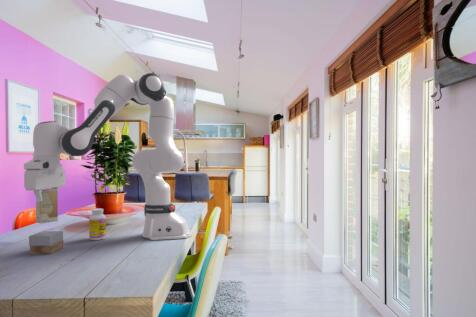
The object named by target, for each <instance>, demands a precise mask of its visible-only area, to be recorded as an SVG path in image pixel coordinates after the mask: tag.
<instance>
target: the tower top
mask: <svg viewBox="0 0 476 317" xmlns="http://www.w3.org/2000/svg"><path fill="white" fill-rule="evenodd" d="M62 240H63V241H64V231H63V230H42V231H40V232H37V233H33V234H31V235H29V236H28V246H29V247H30V246H51V245H53V244H55V243H57V242H60V241H62Z"/></svg>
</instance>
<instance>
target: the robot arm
mask: <svg viewBox="0 0 476 317" xmlns="http://www.w3.org/2000/svg"><path fill="white" fill-rule="evenodd" d="M166 94H167V90H166V88H165V85H164V81H163V79H162V77H160V75H159V74H156V73H154V72H153V73H151V72H149V73H145V74H143V75H142V76H141V77H140V78H138V79H137V80H134V79H132V77H131V76H129V75H127V74H118V75H116V76H115V77H113V78H112V79H111V80H110V81H108V83H107V84H105V85H104V87H102V88H101V89H100V91H99V92H98V93H97V95H96V96H95V98H94V100H93V101H94V102H93V105H94V109H93V110H92V112H91V113H90V114H89V115H88V116H87V117H86V118H85V120H83V122H82V123H81V124H80V125H78V127H76V128H73V129H69V128H67V127H65V126H63V125H62V124H60V123H59V122H57V121H56V120H55V121H53V120H51V121H48V120H47V121H42V122H39V123H37V124H36V125H35V126H34V128H33V133H32V146H33V150H34V151H33V154H32V159H30V160H28V161H27V162H26V161H25V163H23V169H24V170H25V171H24V173H23V183H24V184H23V185H24V188H25V191H28V192H29V191H33V194H34V196H35V200H36V201H35V203H36V202H43V197H42V195H41V192H42V190H46V189H56V190H58V192H59V191H60V187H65V186H66V182H67V181H66V172H65V168H64V167H63V165H62V164H61V154H65V155H68V156H73V157H81V156H85V155H87V154H88V153H89V152H90V151H91V149H92V147H93V143H94V141H95V138H96V135H97V134H98V133H99V132H100V131H101V129H102V128H103V127H104V126H105V124H106V123H107V122H108V121H109V120H110V119H111V118H113V117H114V116H115V115H117V114H118V113H119V112H120V111H121V110H122V109H123V108H124V107H125V106H126V105H127V104H128V103H129V102H130V101H132V102H134V103H135V104H137V105H139V106H147V105H148V106H149V121H148V122H149V123H148V131H147V134H148V137H149V138H150V139H151V140H152V141H154V145H155V148H148V149H142V150H139V151H137V152H135V153H134V155H133V156H132V161H131V162H132V166H133V168H134V169H135V170H136V172H138V173H139V175H140V177H141V178H142V182H143V185H144V196H145V198H144V199H145V204H144V208H143V210H144V211H143V214H144V227H143V229H142V230H143V231H142V234H141V236H142V238H145V239H148V240H151V241H158V240H159V241H161V240H178V239H188V238H190V237H191V236H192V235H193V234H194V231H193V230H192V229H190V228H189V225H188V222H187V219H186V218H185V217H183V216H182V215H181V214H179V213H178V212H176V204H173V203H172V201H171V200H172V199H171V198H172V197H171V196H172V195H171V186H170V184H169V183H168V182H166V181H165V180H164V178H163V174H173V173H177V172H180V171H181V170H182V169H183V167H184V164H185V158H184V155H183V153H182V152H181V151H180V150H179V149H178V147H177V146H176V144H175V143H176V142H175V140H174V124H175V105H174V101H173V99H172V98H170V97H169V96H167V95H166Z"/></svg>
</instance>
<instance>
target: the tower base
mask: <svg viewBox="0 0 476 317" xmlns="http://www.w3.org/2000/svg"><path fill="white" fill-rule="evenodd" d="M62 249H64V239H63V240H62V241H60V242H57V243H55V244H53V245H51V246H29V255H52V254H55V253H57V252H59V251H61V250H62Z"/></svg>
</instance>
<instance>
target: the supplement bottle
mask: <svg viewBox="0 0 476 317" xmlns="http://www.w3.org/2000/svg"><path fill="white" fill-rule="evenodd" d="M88 221H89V223H88V224H89V225H88V227H89V228H88V230H89V233H88V236H89V238H88V239H89V240H91V241H101V240H103V239H106V238H107V235H106V234H107V233H106V232H107V229H106V228H107V217H106V215H105V214H104V208H92V209H91V215H90V216H89V218H88Z"/></svg>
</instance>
